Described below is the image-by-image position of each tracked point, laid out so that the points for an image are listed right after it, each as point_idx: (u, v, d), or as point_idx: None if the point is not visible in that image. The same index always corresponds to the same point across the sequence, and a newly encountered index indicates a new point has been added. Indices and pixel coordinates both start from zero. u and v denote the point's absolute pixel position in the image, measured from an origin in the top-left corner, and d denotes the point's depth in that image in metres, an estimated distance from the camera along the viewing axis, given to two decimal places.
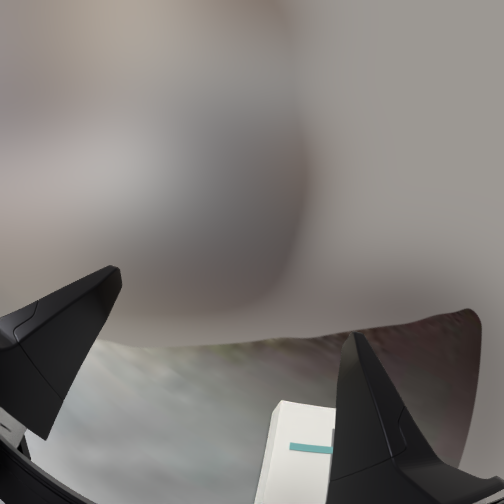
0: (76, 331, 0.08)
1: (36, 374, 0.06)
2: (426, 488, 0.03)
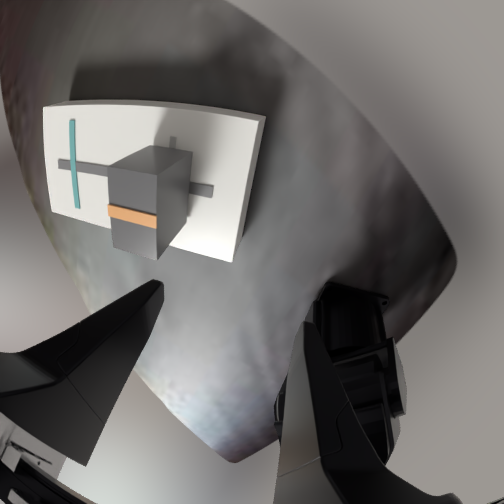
0: (122, 353, 0.07)
1: (82, 404, 0.06)
2: (350, 497, 0.03)
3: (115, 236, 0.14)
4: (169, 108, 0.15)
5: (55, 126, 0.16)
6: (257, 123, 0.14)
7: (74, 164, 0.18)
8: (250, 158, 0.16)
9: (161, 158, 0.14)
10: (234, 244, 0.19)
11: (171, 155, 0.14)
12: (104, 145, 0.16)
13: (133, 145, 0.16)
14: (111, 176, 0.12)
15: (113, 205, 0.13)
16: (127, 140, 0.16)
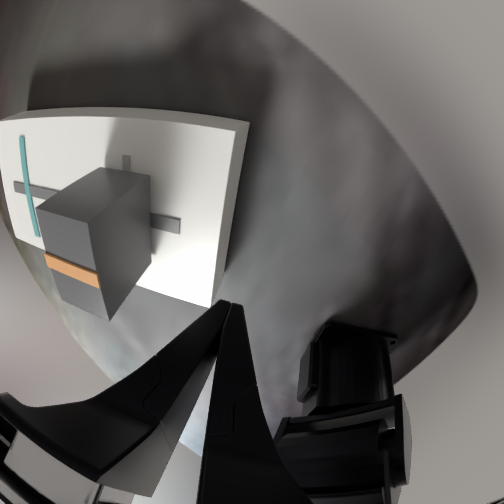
0: (199, 381, 0.07)
1: (163, 442, 0.05)
2: (208, 481, 0.03)
3: (61, 289, 0.10)
4: (120, 118, 0.10)
5: (8, 143, 0.12)
6: (233, 134, 0.10)
7: (28, 188, 0.14)
8: (225, 183, 0.12)
9: (104, 190, 0.10)
10: (211, 288, 0.15)
11: (119, 183, 0.10)
12: (54, 166, 0.12)
13: (83, 166, 0.12)
14: (41, 220, 0.08)
15: (50, 255, 0.09)
16: (77, 160, 0.12)
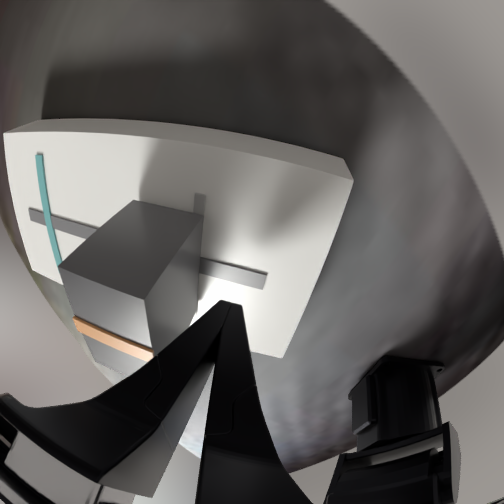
0: (199, 381, 0.07)
1: (164, 442, 0.05)
2: (208, 481, 0.03)
3: (95, 353, 0.09)
4: (192, 144, 0.09)
5: (20, 161, 0.10)
6: (351, 184, 0.09)
7: (50, 218, 0.12)
8: (332, 238, 0.10)
9: (151, 239, 0.08)
10: (288, 341, 0.13)
11: (168, 229, 0.09)
12: (88, 197, 0.11)
13: None
14: (68, 283, 0.07)
15: (81, 320, 0.08)
16: (122, 192, 0.10)
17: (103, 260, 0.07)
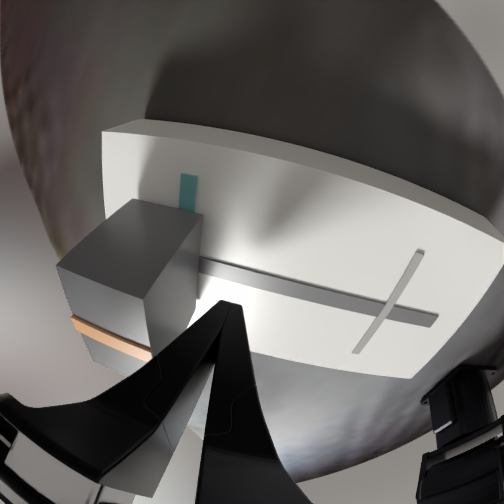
0: (199, 381, 0.07)
1: (165, 442, 0.05)
2: (207, 481, 0.03)
3: (94, 352, 0.09)
4: (427, 208, 0.08)
5: (138, 177, 0.10)
6: None
7: None
8: (488, 286, 0.09)
9: (150, 238, 0.08)
10: (423, 364, 0.13)
11: (167, 228, 0.09)
12: (275, 241, 0.10)
13: (343, 252, 0.10)
14: (66, 282, 0.07)
15: (80, 320, 0.07)
16: (334, 242, 0.10)
17: (102, 259, 0.07)
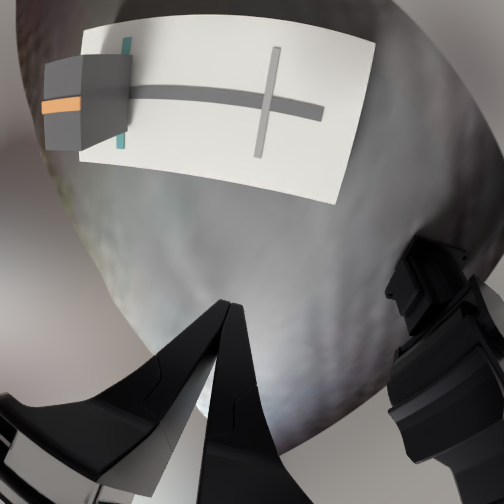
0: (198, 381, 0.07)
1: (164, 442, 0.05)
2: (209, 482, 0.03)
3: (47, 135, 0.11)
4: (271, 19, 0.10)
5: (100, 48, 0.12)
6: (374, 45, 0.10)
7: None
8: (367, 79, 0.11)
9: None
10: (341, 181, 0.15)
11: None
12: (174, 61, 0.12)
13: (218, 58, 0.12)
14: (47, 72, 0.09)
15: (46, 100, 0.10)
16: (210, 52, 0.12)
17: None
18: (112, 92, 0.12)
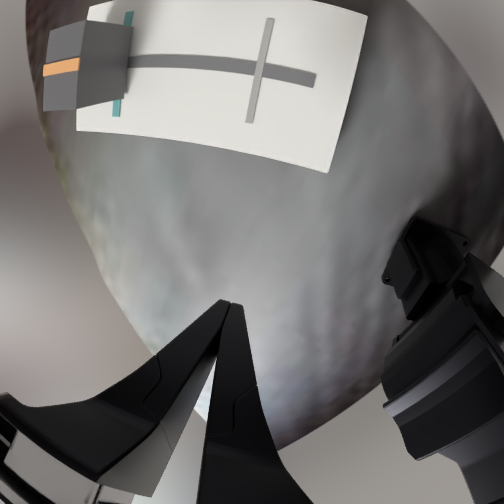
0: (199, 381, 0.07)
1: (164, 442, 0.05)
2: (208, 482, 0.03)
3: (46, 97, 0.10)
4: None
5: None
6: (366, 17, 0.10)
7: None
8: (359, 49, 0.11)
9: None
10: (333, 148, 0.14)
11: None
12: (172, 32, 0.12)
13: (214, 28, 0.11)
14: (51, 38, 0.08)
15: (48, 63, 0.09)
16: (207, 23, 0.11)
17: None
18: (111, 58, 0.11)
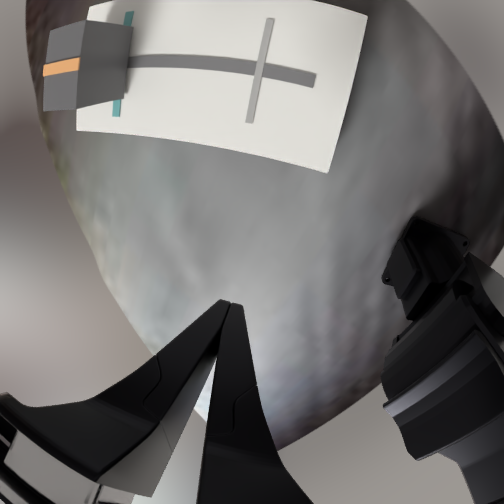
0: (199, 381, 0.07)
1: (164, 442, 0.05)
2: (208, 482, 0.03)
3: (46, 97, 0.10)
4: None
5: None
6: (366, 17, 0.10)
7: None
8: (359, 49, 0.11)
9: None
10: (333, 148, 0.14)
11: None
12: (172, 32, 0.12)
13: (214, 28, 0.11)
14: (51, 38, 0.08)
15: (48, 63, 0.09)
16: (207, 23, 0.11)
17: None
18: (111, 58, 0.11)
